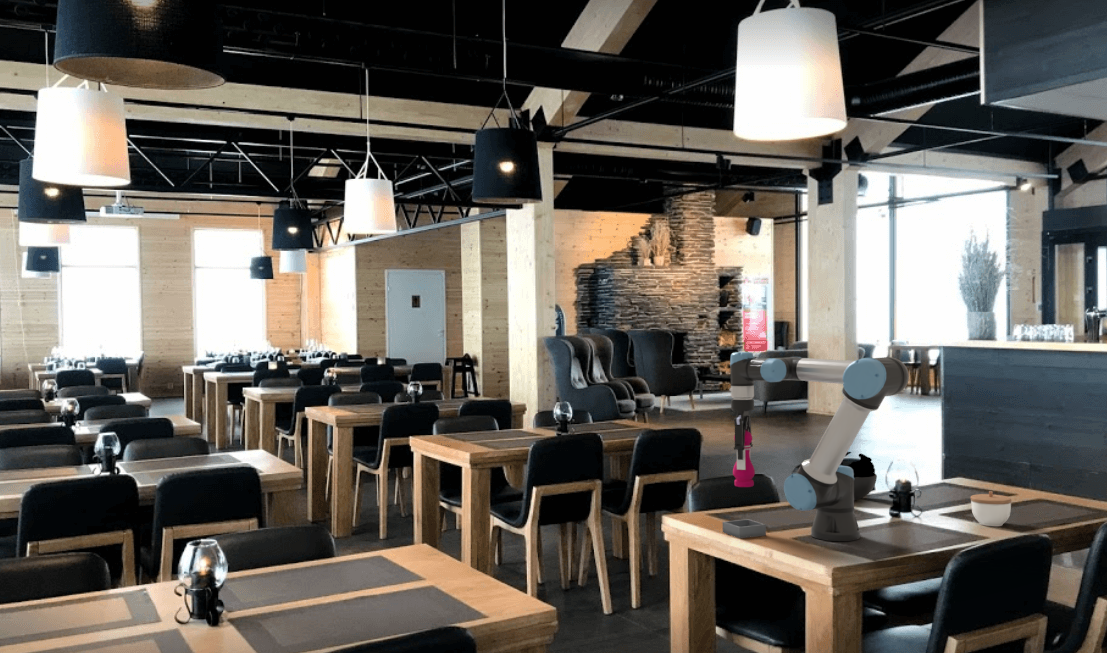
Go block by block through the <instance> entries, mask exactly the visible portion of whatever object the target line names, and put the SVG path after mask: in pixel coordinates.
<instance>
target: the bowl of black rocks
mask: <svg viewBox="0 0 1107 653" xmlns="http://www.w3.org/2000/svg"><path fill="white" fill-rule="evenodd" d="M850 454H852V452H851V451H848V452H847V453H846V455H845V457H847V456H848V455H850ZM858 457H859V458H860V459H859V460H856V461H852V462H851V463H850V464H848V465H847V466H848V467H851V468H852V469H853V473H854V501H857V500H858V501H859V500H861V499H863V498H865V497H867V496H868V495H869V494H870V493H871V492H872V491H873V489H874V488H875V485H876V482H877V478H878V476H877V474H876V469H875V465H874V463H873V462H872V461H873V460H872V458H871V457H869V456H867V455H865V454H863V453H859V454H858ZM840 465H841V466H845V465H844V463H843V460H842V462H841V464H840Z"/></svg>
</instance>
